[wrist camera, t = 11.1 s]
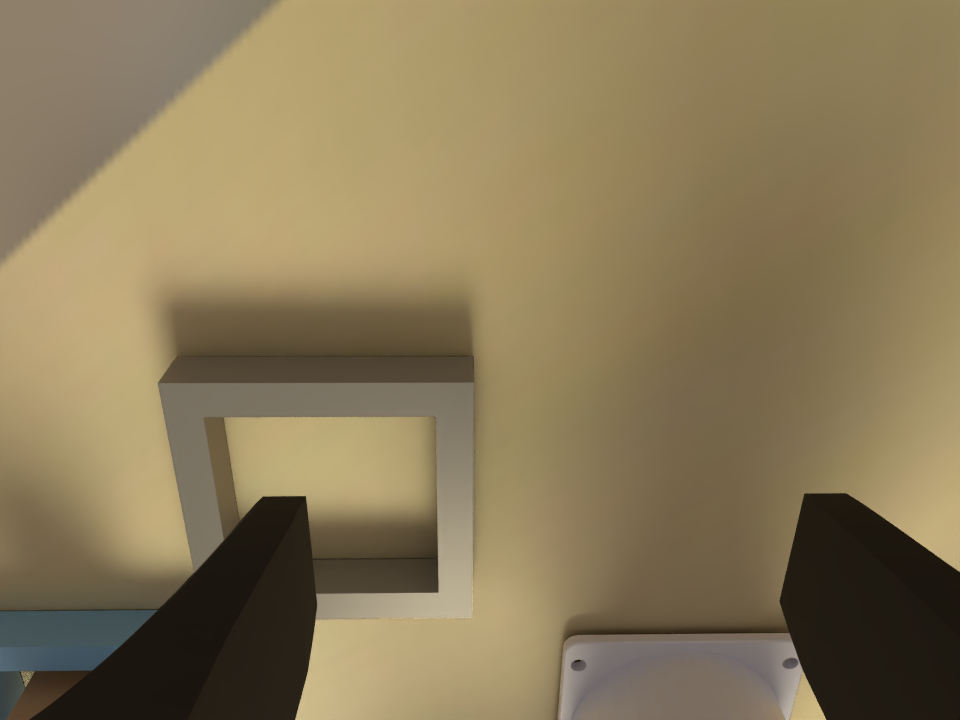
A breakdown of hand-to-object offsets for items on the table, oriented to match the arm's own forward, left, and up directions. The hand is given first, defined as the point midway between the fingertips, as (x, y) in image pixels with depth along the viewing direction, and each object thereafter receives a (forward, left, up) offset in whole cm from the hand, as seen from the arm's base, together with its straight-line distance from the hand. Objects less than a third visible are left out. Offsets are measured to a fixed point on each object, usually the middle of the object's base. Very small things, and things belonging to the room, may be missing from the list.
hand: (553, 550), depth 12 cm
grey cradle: (-6, +5, -10) cm, 13 cm away
